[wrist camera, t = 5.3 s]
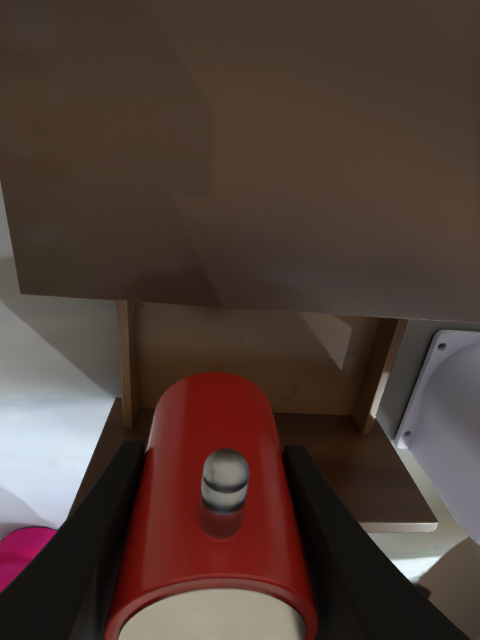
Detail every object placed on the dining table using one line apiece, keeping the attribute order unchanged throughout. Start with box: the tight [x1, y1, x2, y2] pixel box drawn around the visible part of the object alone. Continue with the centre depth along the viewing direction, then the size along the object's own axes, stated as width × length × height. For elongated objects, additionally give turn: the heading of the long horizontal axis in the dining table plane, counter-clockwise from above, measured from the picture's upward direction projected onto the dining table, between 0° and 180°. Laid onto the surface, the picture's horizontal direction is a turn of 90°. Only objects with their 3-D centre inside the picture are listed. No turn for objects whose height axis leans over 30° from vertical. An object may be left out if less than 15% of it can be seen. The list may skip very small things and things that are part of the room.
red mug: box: [104, 372, 319, 640], centre depth 10 cm, size 6×4×6 cm
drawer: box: [67, 300, 438, 533], centre depth 17 cm, size 17×17×8 cm
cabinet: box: [0, 0, 480, 324], centre depth 12 cm, size 14×17×9 cm
